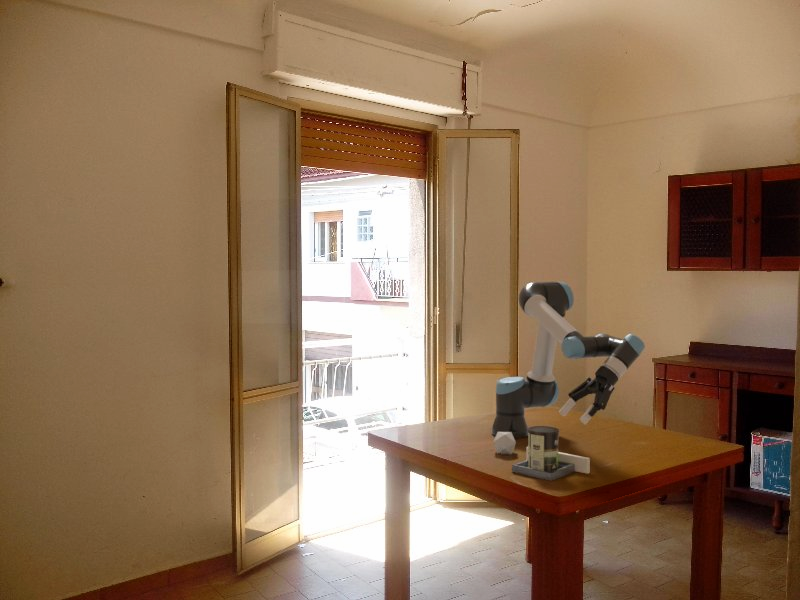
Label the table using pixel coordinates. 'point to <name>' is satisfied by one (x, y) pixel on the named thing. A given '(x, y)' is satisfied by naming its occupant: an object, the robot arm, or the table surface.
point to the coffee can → (543, 448)
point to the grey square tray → (561, 471)
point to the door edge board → (573, 461)
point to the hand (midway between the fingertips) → (571, 418)
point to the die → (504, 442)
